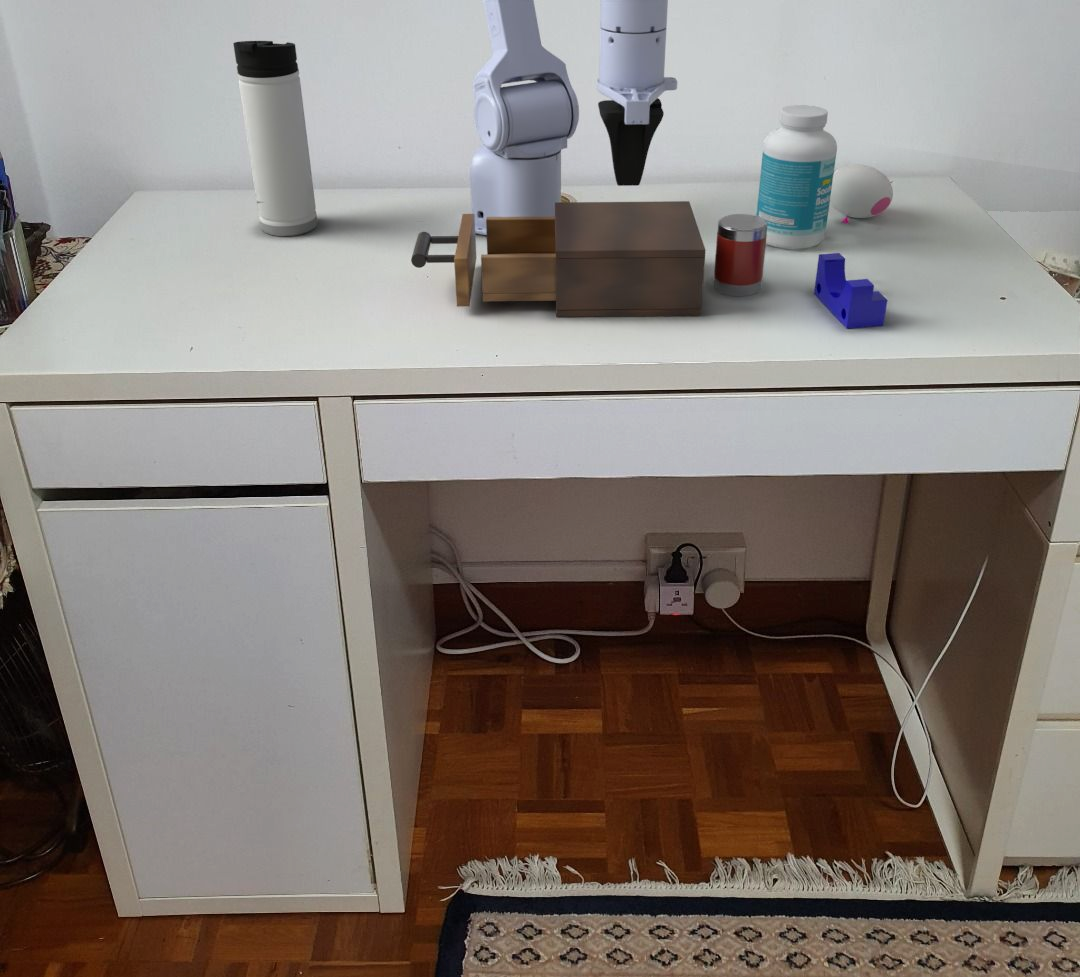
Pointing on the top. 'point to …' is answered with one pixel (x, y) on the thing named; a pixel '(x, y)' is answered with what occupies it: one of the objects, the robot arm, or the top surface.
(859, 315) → the cable holder
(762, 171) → the pill bottle
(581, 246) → the organiser
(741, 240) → the can
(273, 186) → the travel mug
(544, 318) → the top surface
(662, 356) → the top surface
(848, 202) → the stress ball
